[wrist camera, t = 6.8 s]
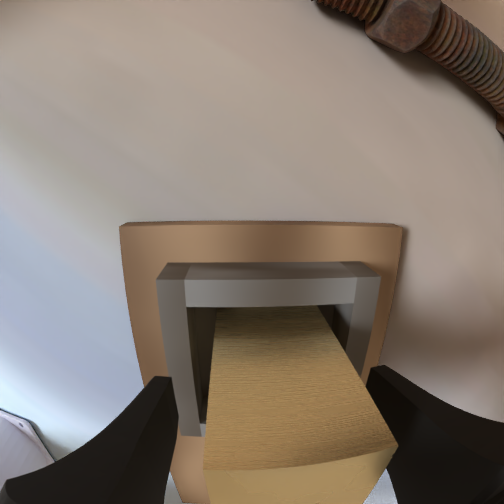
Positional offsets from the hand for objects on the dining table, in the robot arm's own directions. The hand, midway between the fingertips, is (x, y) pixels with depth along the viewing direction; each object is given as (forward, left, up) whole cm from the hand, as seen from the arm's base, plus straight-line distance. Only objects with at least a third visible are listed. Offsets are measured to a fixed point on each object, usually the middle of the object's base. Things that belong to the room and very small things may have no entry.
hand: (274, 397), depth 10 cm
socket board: (0, -6, -4) cm, 7 cm away
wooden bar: (0, 0, -3) cm, 3 cm away
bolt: (+9, +15, -5) cm, 18 cm away
